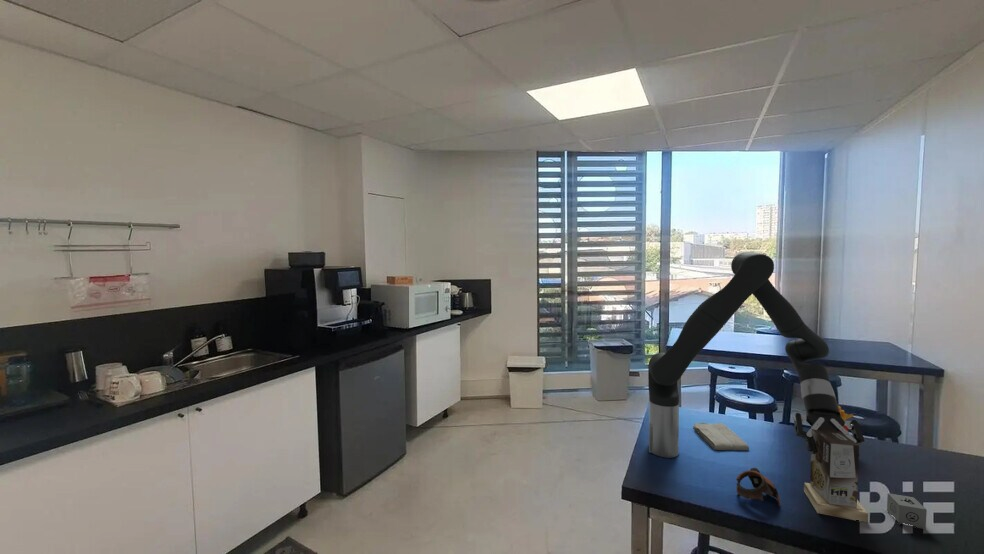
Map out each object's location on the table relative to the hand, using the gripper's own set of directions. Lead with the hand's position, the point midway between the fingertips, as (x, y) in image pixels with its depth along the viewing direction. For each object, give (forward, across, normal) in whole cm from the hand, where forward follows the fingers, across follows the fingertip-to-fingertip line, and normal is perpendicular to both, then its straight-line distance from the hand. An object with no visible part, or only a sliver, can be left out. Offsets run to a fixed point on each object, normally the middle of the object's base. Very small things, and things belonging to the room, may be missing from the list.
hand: (833, 456), depth 103 cm
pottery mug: (+12, -17, +7) cm, 22 cm away
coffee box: (+8, 0, +7) cm, 11 cm away
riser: (+10, 0, +9) cm, 13 cm away
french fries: (-16, +13, +35) cm, 41 cm away
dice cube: (+10, +14, +9) cm, 20 cm away
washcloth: (-12, -22, +32) cm, 41 cm away
